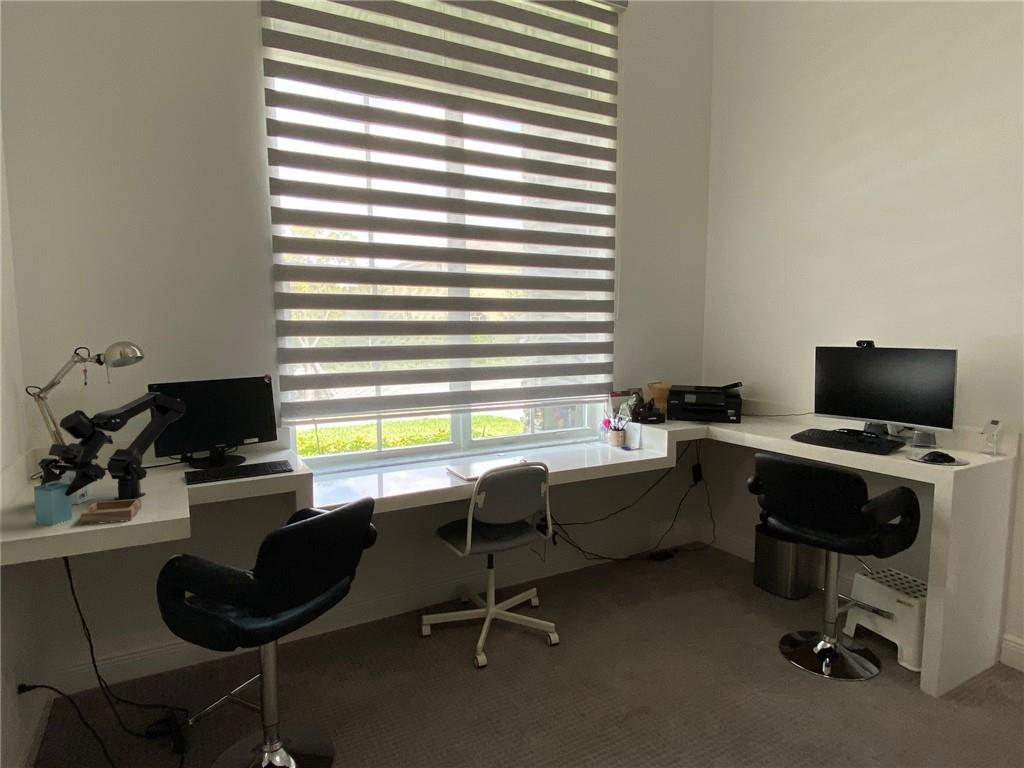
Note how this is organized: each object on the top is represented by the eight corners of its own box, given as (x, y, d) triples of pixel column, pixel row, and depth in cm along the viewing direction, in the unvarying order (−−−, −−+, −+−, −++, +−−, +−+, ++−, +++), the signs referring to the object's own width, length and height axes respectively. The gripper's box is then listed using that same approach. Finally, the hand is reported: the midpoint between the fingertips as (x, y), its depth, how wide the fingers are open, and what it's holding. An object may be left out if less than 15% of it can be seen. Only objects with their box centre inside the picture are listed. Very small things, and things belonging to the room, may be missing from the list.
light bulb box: (93, 498, 188) (91, 465, 187) (78, 504, 182) (76, 470, 181) (59, 498, 188) (57, 465, 187) (43, 504, 181) (41, 470, 180)
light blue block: (55, 517, 169) (53, 478, 168) (72, 519, 168) (69, 480, 167) (36, 523, 164) (33, 483, 163) (53, 525, 163) (50, 485, 162)
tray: (94, 512, 175) (94, 502, 174) (141, 508, 179) (140, 498, 179) (81, 524, 163) (80, 514, 163) (131, 520, 168) (130, 510, 167)
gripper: (43, 430, 171) (4, 476, 162) (94, 434, 167) (58, 481, 157) (70, 452, 180) (35, 497, 170) (120, 455, 175) (87, 502, 166)
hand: (53, 494), depth 165 cm, fingers open, 9 cm apart
